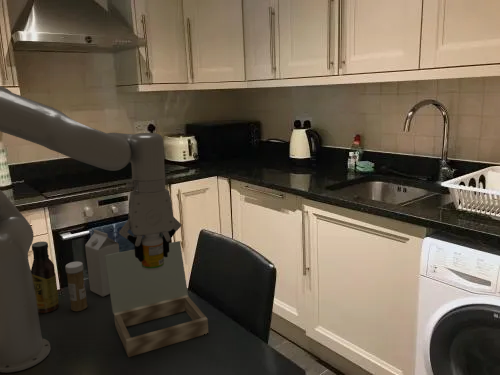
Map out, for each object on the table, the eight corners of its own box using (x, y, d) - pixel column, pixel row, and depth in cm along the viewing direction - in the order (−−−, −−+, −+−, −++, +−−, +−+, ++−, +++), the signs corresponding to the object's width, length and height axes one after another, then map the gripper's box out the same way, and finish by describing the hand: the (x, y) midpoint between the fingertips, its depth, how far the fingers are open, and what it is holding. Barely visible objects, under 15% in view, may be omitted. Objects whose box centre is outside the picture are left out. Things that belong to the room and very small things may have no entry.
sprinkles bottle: (89, 308, 125) (84, 264, 122) (73, 313, 122) (67, 268, 119) (85, 302, 128) (80, 259, 125) (69, 307, 126) (63, 263, 123)
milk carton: (110, 282, 141) (104, 226, 137) (123, 288, 137) (117, 230, 132) (90, 290, 136) (83, 232, 131) (103, 297, 131) (96, 237, 127)
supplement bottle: (140, 264, 110) (138, 227, 107) (161, 261, 112) (160, 224, 110) (143, 272, 105) (141, 233, 103) (166, 269, 107) (164, 231, 105)
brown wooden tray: (128, 357, 101) (126, 341, 101) (115, 327, 114) (114, 313, 114) (208, 333, 110) (207, 319, 110) (188, 308, 123) (187, 295, 122)
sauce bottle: (31, 309, 125) (22, 243, 120) (53, 301, 129) (45, 237, 125) (41, 317, 121) (31, 249, 116) (63, 308, 125) (55, 242, 121)
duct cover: (104, 255, 114) (104, 255, 114) (113, 313, 113) (112, 312, 114) (180, 241, 123) (179, 241, 123) (187, 294, 123) (187, 294, 123)
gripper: (115, 192, 97) (120, 269, 101) (188, 185, 104) (190, 256, 108) (108, 186, 103) (113, 258, 107) (178, 179, 111) (180, 247, 115)
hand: (152, 256), depth 108 cm, fingers closed on supplement bottle, 5 cm apart
